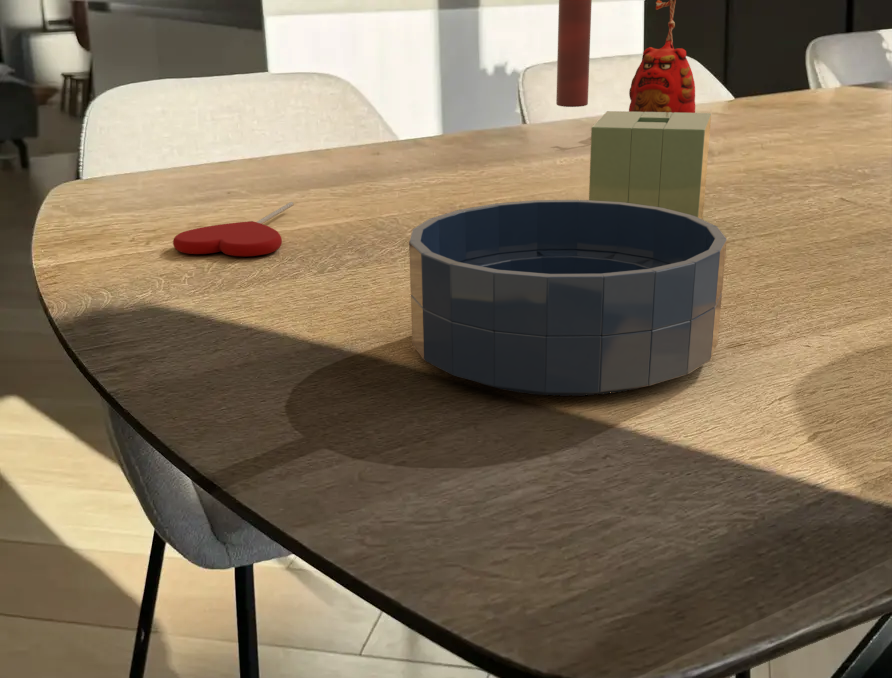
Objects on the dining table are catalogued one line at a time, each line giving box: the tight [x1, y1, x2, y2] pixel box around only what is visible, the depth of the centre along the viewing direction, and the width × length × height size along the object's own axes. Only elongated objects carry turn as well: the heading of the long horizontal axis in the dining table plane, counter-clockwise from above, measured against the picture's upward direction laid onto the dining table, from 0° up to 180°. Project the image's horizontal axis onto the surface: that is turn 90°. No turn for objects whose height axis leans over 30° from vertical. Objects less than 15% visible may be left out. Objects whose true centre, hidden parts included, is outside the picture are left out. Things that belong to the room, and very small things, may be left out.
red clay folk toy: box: [628, 0, 696, 113], centre depth 124 cm, size 8×7×15 cm
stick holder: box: [588, 110, 712, 220], centre depth 84 cm, size 8×8×8 cm
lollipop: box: [172, 201, 295, 257], centre depth 86 cm, size 8×1×15 cm
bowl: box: [408, 199, 728, 397], centre depth 59 cm, size 16×16×6 cm
